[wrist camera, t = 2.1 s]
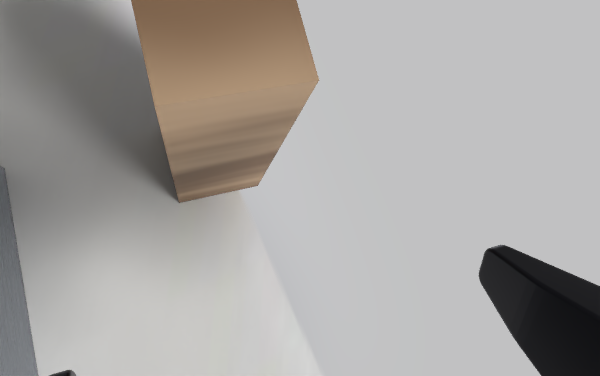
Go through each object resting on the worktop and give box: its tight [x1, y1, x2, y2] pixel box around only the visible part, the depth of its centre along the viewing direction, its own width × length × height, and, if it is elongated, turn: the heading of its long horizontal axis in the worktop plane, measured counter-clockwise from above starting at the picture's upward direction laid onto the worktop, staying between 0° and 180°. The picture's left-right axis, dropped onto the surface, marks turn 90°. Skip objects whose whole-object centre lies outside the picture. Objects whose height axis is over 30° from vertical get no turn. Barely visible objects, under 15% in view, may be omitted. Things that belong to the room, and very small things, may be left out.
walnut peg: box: [131, 0, 319, 203], centre depth 17 cm, size 4×4×12 cm
